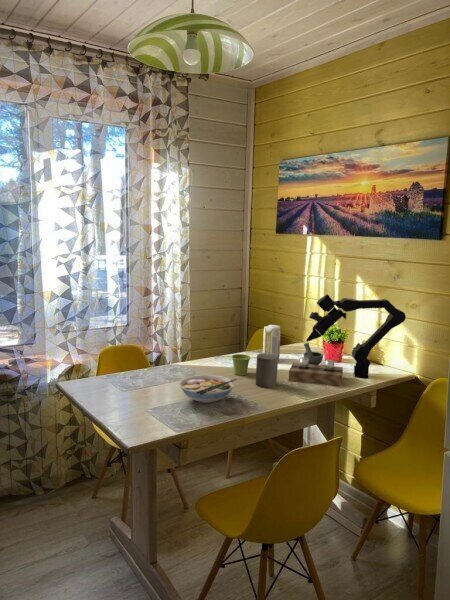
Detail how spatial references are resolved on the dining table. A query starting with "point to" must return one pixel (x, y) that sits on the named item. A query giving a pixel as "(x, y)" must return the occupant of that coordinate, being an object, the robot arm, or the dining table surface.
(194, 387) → the ramen bowl
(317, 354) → the mortar and pestle
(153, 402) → the dining table surface
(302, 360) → the peg far
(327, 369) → the peg near
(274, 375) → the pillar candle
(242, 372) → the plant pot
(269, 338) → the juice carton
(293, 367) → the walnut block
